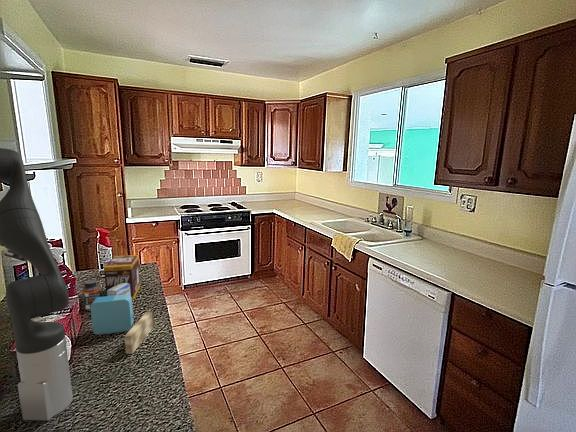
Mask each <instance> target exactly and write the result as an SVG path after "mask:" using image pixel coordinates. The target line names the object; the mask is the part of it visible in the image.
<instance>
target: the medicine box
mask: <svg viewBox="0 0 576 432" xmlns="http://www.w3.org/2000/svg"><path fill="white" fill-rule="evenodd" d="M125 294H128V295H130V296H131V293H130V284H128V283H120V284H118V285H116V286H114V287H112V288H111V289H109V290H107V296H115V295H125Z"/></svg>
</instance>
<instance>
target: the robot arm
mask: <svg viewBox="0 0 576 432" xmlns="http://www.w3.org/2000/svg"><path fill="white" fill-rule="evenodd" d="M0 182H3V183H4V182H6V183H7V184H8V185H9V189H8V191H7V192H6V194H5V195H4V196H3V197H2V198H1V200H0V247H4V248H5V249H6V251H5V252H4V253H3V254H4V256H5V257H8V258H12V259H15V260H19V261H22V262H26V261H28V262H29V263H30V264H31V265H33V266H34V268H35V269H36V270H37V271H38V273H39V275H35V276H32V277H27V278H23V279H18V280H14V281H10V282H9V283H8V284H7V286H6V288H5V301H6V306H7V309H8V314H9V318H10V321H11V326H12V333H13V338H14V346H15V351H16V358H17V364H18V369H19V370H18V371H19V376H20V381H19V382H18V383H17V390H18V396H19V403H20V408H21V409H20V410H21V415H22V421H50V420H51V419H52V418H53V417H54V416H56V415H58V414H60V413H62V412H63V411H64V410H66V409H67V408H68V407H69V406H70V405H71V403H72V401H73V399H74V396H73V388H72V386H73V385H72V379H71V372H70V371H71V370H70V365H69V356H68V355H69V354H68V348H67V347H68V346H67V341H66V331H65V327H64V325H63V324H61V323H59V322H55V321H35V320H33V319H37V318H39V317H43V316H47V315H49V314H54V313H56V312H59V311H62V310H65V308H67V307H68V305H69V303H70V302H69V300H70V294H69V290H68V286H67V283H66V282H65V279H64V277H63V274H62V273H61V270H60V269H59V265H58V264H57V262H56V260H55V258H54V255H53V253H52V250H51V247H50V245H49V242H48V239H47V236H46V232H45V228H44V225H43V222H42V219H41V217H40V213H39V212H38V209H37V207H36V204H35V201H34V199H33V195H32V193H31V190H30V186H29V182H28V177H27V173H26V169H25V165H24V160H23V158H22V156H21V154H20V153H19V152H17V150H13V149H9V148H3V147H0Z"/></svg>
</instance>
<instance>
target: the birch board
mask: <svg viewBox="0 0 576 432" xmlns="http://www.w3.org/2000/svg"><path fill="white" fill-rule="evenodd" d="M154 327H155V320H154V311H153V310H146V312H145V313H144V314H143V315H142V316H141V317H140V319H139V320H138V321H136V323H135V324H134V325H132V327H131V329H130V330H129V331H127V333H126V334H125V335H124V345H125V354H128V355H132V354H134V352H135V351H136V350H137V349H138V347H139V346H140V345H141V344H142V342H143V341H144V340H145V339H146V337H147V336H148V334H149V333H150V332H151V331H152V330H153V328H154Z"/></svg>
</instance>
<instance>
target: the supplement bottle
mask: <svg viewBox="0 0 576 432" xmlns="http://www.w3.org/2000/svg"><path fill="white" fill-rule="evenodd" d="M81 291H82V294H81V295H82V302H83V309H84V310H85V311H86V312H91V309H90V306H91V304H92V303H93V301H94V300H95V299H96V298H97V297H101V289H100V285H98V282H97V280H95V279H89V280H86V281H84V287H82V290H81Z"/></svg>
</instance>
